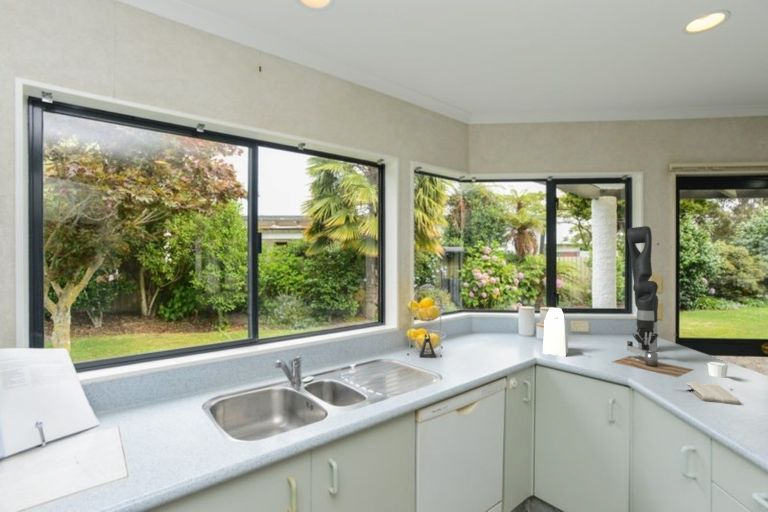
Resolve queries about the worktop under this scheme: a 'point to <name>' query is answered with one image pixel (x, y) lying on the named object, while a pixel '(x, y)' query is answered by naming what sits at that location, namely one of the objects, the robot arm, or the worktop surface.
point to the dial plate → (661, 367)
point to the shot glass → (717, 369)
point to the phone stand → (424, 349)
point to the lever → (644, 354)
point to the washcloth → (712, 393)
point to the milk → (555, 333)
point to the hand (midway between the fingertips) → (645, 351)
